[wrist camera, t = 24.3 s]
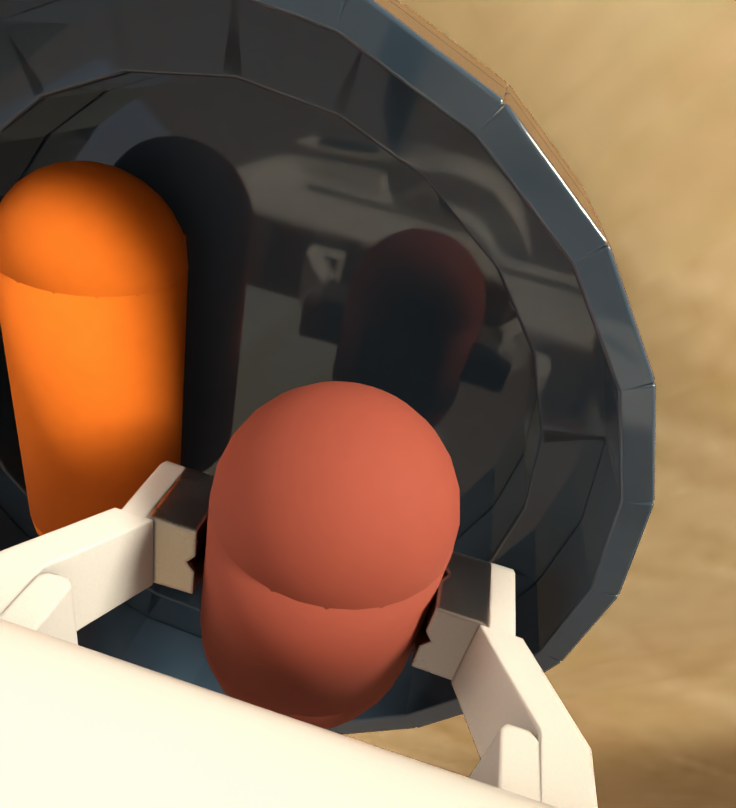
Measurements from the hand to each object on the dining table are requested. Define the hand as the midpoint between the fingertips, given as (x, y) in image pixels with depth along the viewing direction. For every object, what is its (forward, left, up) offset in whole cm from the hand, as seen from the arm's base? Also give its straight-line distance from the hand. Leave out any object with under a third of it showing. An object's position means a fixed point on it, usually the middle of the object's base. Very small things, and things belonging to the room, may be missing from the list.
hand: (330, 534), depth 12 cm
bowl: (+3, -1, -5) cm, 6 cm away
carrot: (+7, -1, -5) cm, 8 cm away
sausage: (0, 0, -2) cm, 2 cm away
